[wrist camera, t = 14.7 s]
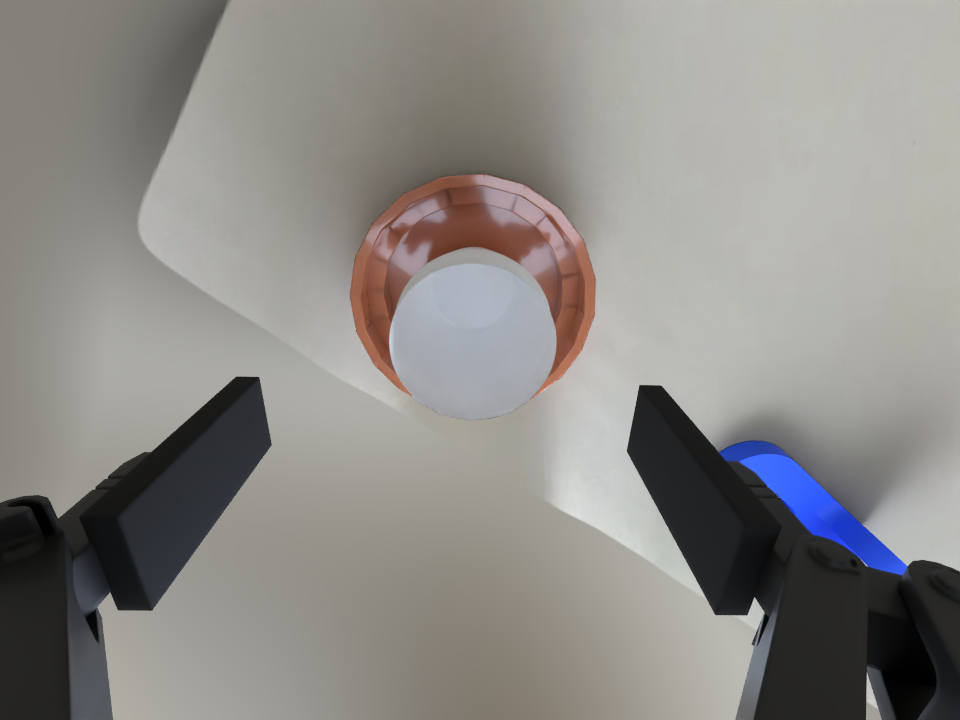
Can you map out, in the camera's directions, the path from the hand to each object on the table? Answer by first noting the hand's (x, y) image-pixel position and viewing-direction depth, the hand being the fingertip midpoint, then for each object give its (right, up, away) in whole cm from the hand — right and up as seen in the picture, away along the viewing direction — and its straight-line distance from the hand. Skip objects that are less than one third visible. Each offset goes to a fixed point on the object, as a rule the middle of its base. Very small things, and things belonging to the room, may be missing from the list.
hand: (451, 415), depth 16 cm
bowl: (+1, +7, +19) cm, 20 cm away
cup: (+1, +7, +19) cm, 20 cm away
